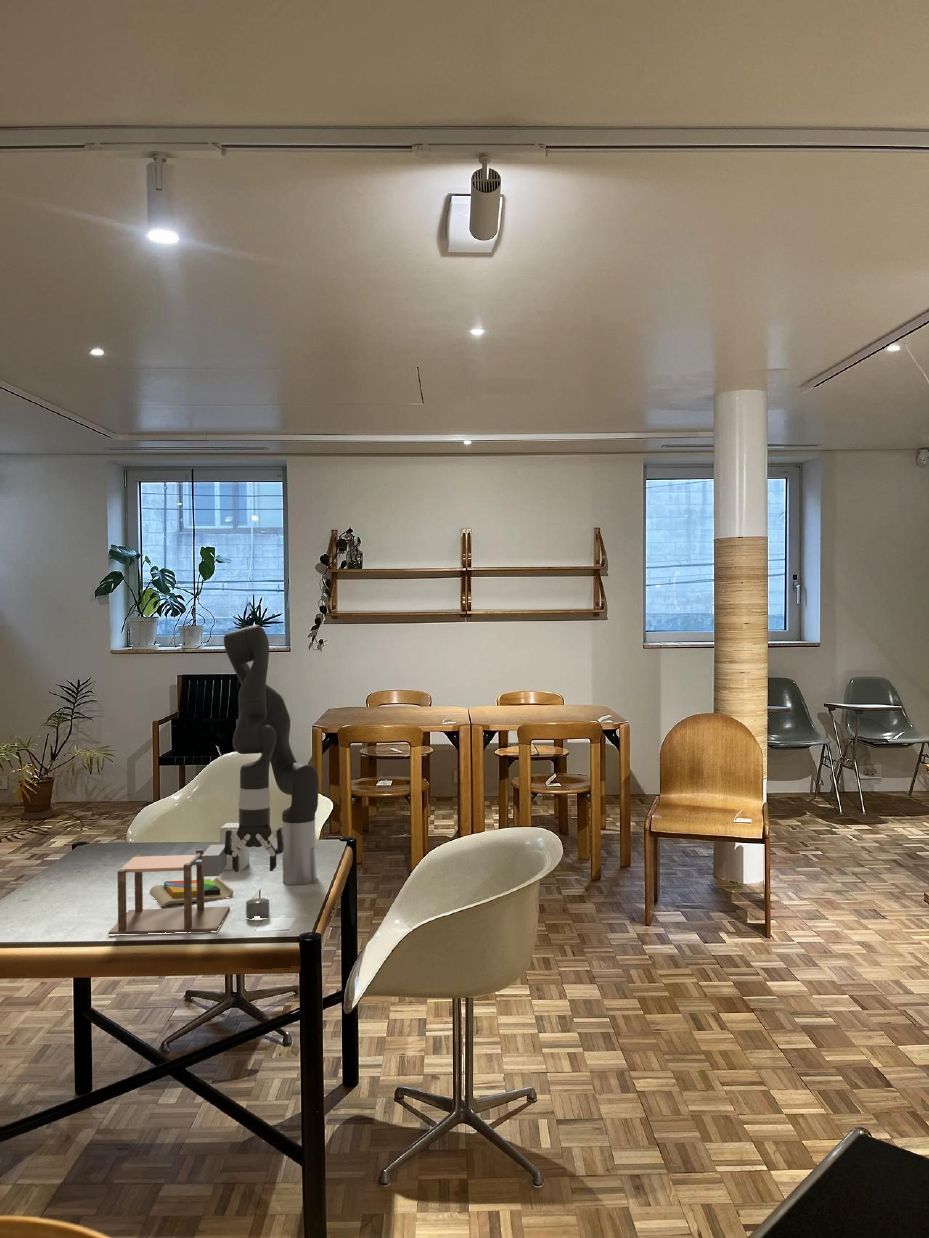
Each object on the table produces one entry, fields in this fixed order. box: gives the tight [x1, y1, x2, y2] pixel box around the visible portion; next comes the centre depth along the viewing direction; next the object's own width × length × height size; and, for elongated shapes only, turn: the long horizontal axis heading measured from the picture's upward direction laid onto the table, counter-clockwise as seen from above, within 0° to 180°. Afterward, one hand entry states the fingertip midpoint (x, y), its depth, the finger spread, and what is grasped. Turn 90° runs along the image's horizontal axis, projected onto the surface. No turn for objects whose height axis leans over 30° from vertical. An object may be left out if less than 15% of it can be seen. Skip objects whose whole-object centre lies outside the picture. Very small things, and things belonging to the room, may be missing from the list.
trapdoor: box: [119, 844, 227, 878], centre depth 226 cm, size 23×12×5 cm, turn 94°
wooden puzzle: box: [149, 877, 234, 908], centre depth 250 cm, size 18×19×4 cm
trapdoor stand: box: [108, 848, 231, 935], centre depth 226 cm, size 25×17×16 cm
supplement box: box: [219, 822, 250, 871], centre depth 278 cm, size 7×7×13 cm
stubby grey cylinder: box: [245, 897, 270, 919], centre depth 230 cm, size 6×6×4 cm
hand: (254, 870), depth 230 cm, fingers open, 8 cm apart
